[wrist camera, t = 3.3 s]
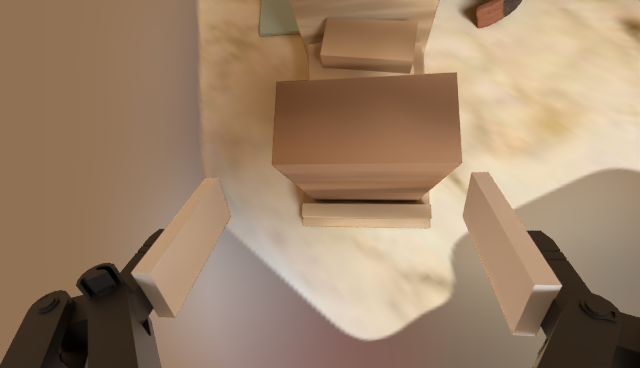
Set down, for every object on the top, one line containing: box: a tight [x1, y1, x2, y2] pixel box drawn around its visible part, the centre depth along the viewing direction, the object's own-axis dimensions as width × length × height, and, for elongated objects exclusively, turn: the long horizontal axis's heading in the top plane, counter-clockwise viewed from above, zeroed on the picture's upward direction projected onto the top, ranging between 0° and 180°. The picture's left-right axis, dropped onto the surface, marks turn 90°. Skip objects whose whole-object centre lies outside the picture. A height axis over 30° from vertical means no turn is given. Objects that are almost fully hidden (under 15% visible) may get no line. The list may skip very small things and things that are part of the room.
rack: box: [290, 0, 439, 228], centre depth 23 cm, size 16×10×9 cm, turn 178°
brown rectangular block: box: [272, 72, 462, 202], centre depth 19 cm, size 4×8×12 cm, turn 88°
